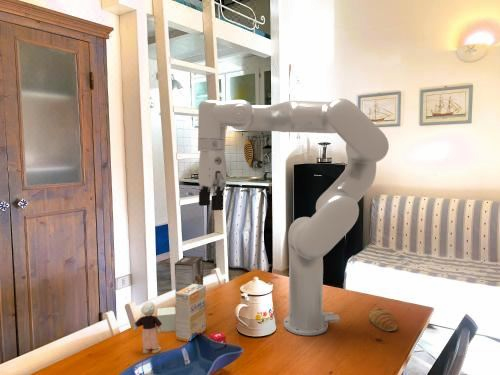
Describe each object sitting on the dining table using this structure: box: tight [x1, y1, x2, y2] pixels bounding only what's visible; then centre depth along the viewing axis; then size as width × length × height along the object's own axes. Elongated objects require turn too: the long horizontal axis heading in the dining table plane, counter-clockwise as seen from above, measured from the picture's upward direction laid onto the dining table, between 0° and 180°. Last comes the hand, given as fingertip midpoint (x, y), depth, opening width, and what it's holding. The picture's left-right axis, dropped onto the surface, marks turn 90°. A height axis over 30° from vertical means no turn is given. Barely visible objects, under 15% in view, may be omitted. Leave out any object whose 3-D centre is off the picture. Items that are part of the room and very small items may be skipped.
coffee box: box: [174, 255, 204, 293], centre depth 121 cm, size 9×6×16 cm
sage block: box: [156, 306, 176, 334], centre depth 108 cm, size 5×5×5 cm
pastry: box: [368, 307, 399, 332], centre depth 109 cm, size 9×7×4 cm
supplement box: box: [174, 284, 207, 343], centre depth 103 cm, size 8×5×13 cm, turn 155°
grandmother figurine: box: [133, 301, 165, 354], centre depth 95 cm, size 8×4×13 cm, turn 98°
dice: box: [209, 331, 227, 344], centre depth 97 cm, size 3×3×3 cm
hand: (210, 207), depth 105 cm, fingers open, 9 cm apart
